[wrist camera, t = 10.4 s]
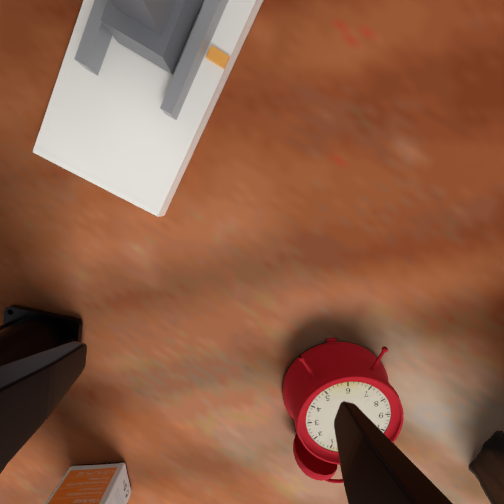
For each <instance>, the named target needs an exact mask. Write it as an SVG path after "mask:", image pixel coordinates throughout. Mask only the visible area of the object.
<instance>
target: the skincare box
mask: <svg viewBox="0 0 504 504" xmlns="http://www.w3.org/2000/svg"><path fill="white" fill-rule="evenodd" d="M130 494H131V487H130V483H129V479H128V475H127V470H126V465H125V463H117V464H102V465H83V466H71V467H70V468H69V469H68V471H67V472H66V474H65V475H64V477H63V478H62V480H61V481H60V483H59V484H58V485H57V487H56V488H55V490H54V491H53V493H52V494H51V495H50V497H49V498H48V500H47V501H46V503H45V504H127V502H128V499H129V497H130Z"/></svg>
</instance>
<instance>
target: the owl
mask: <svg viewBox="0 0 504 504" xmlns="http://www.w3.org/2000/svg"><path fill="white" fill-rule="evenodd" d="M468 468H469V470H470V471H471V472H472V473H473V474H474V475H475V476H476V478H477V479H478V481H479V482H480V485H481V487H482V488H483V490H484V492H485V494H486V496H487V497H488V499H489V500H490V502H491V504H504V433H503V432H502V431H496V432H495V433H494V434H493V436H492V437H491V438H490V439H489V440H488V441H487V442H485V443H484V445H483V448H482V450H481V452H480V454H479V455H478V456H477V458H476V459H475V460H474V461H473V462H472V463H471V464H470V465H469V467H468Z"/></svg>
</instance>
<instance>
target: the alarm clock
mask: <svg viewBox="0 0 504 504" xmlns="http://www.w3.org/2000/svg"><path fill="white" fill-rule="evenodd" d="M326 340H327V343H325V344H321V345H318V346H315V347H313V348H311V349H309V350H308V351H306V352H304V353H303V354H302V355H300V356H299V357H298V358H297V359H296V360H295V361H294V362H293V363H292V365H291V366H290V368H289V369H288V371H287V373H286V375H285V378H284V382H283V399H284V404H285V407H286V409H287V411H288V413H289V415H290V416H291V417H292V418H293V420H294V422H295V428H296V432H297V434H296V436H295V439H294V443H293V452H294V456H295V459H296V462H297V464H298V466H299V467H300V469H301V470H302V471H303V472H304V473H305V474H306V475H307V476H309V477H311V478H313V479H315V480H325V481H328V482H332V483H344V482H343V479H330V478H331V477H332V476H333V475H334V474H335V472H336V470H337V464H339V465H340V460H339V454H338V448H337V442H336V436H335V430H334V420H335V417H336V414H337V411H338V409H339V406H340V404H341V402H343V401H345V402H350V403H353V404H355V405H356V406H357V407H358V408H359V409H360V410H361V411H362V412H363V413H364V414H365V415H366V416H367V417H368V418H369V419H370V420H371V421H372V422H373V423H374V424H375V425H376V426H377V427H378V428H379V429H380V430H381V431H382V432H383V433H384V434H385V435H386V436H387V437H388V438H389V439H390V440H391V441H392V442H393V443H394V441H395V440H396V438H397V436H398V435H399V433H400V431H401V428H402V424H403V408H402V405H401V402H400V399H399V396H398V394H397V392H396V391H395V390H394V388H393V387H392V386H391V385H390V384H389V382H388V376H387V373H386V370H385V368H384V366H383V365H382V363H381V362H380V360H381V358H382V356H383V354H384V353H385V352H387V351H388V349H387V348H386V347H382V352H381V353H380V355H379V356H378V358H377V357H376V356H375V355H374V354H373V353H372V352H370V351H369V350H367V349H366V348H364V347H362V346H359V345H357V344H353V343H348V342H337V340H336V338H327V339H326Z"/></svg>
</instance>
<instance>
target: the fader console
mask: <svg viewBox="0 0 504 504" xmlns="http://www.w3.org/2000/svg"><path fill="white" fill-rule="evenodd" d="M262 2H263V0H204V1H203V3H202V6H201V8H200V11H199V13H198V15H197V18H196V20H195V23H194V25H193V27H192V30H191V32H190V34H189V37H188V39H187V42H186V44H185V46H184V49H183V51H182V54H181V56H180V58H179V61H178V63H177V66H176V68H175V70H174V73H173V75H172V74H171V73H169V72H167V71H165V70H164V69H162V68H160V67H159V66H157V65H155V64H154V63H152V62H150V61H149V60H147V59H145V58H143V57H142V56H140V55H138V54H137V53H135V52H133V51H132V50H130V49H128V48H126V47H125V46H123V45H121V44H120V43H118V41H117V40H116V39H115V38H114V36H113V35H112V34H111V33H110V31H109V30H108V29H107V28H106V26H105V25H104V24H103V23H102V21H101V17H102V14H103V12H104V9H105V6H106V3H107V0H84V1H83V4H82V7H81V10H80V12H79V15H78V18H77V21H76V24H75V27H74V30H73V33H72V36H71V39H70V42H69V45H68V48H67V51H66V54H65V57H64V60H63V63H62V66H61V69H60V72H59V75H58V78H57V81H56V84H55V87H54V90H53V93H52V96H51V99H50V102H49V105H48V108H47V111H46V114H45V117H44V120H43V123H42V126H41V128H40V131H39V134H38V137H37V140H36V143H35V146H34V149H33V153H35V154H37V155H39V156H41V157H43V158H45V159H47V160H49V161H51V162H53V163H55V164H57V165H58V166H60V167H62V168H64V169H66V170H68V171H70V172H72V173H74V174H76V175H78V176H80V177H82V178H84V179H86V180H88V181H90V182H91V183H93V184H95V185H97V186H99V187H101V188H103V189H105V190H107V191H109V192H111V193H113V194H115V195H117V196H119V197H121V198H123V199H124V200H126V201H128V202H130V203H132V204H134V205H136V206H138V207H140V208H142V209H144V210H146V211H148V212H150V213H152V214H154V215H156V216H164V215H165V213H166V211H167V209H168V207H169V205H170V202H171V200H172V198H173V196H174V194H175V192H176V189H177V187H178V185H179V183H180V181H181V178H182V176H183V174H184V172H185V170H186V168H187V165H188V163H189V161H190V159H191V157H192V155H193V152H194V150H195V148H196V146H197V144H198V141H199V139H200V137H201V135H202V133H203V131H204V128H205V126H206V124H207V122H208V120H209V118H210V115H211V113H212V111H213V109H214V107H215V104H216V102H217V100H218V98H219V96H220V94H221V91H222V89H223V87H224V85H225V83H226V81H227V78H228V76H229V74H230V72H231V70H232V67H233V65H234V63H235V61H236V59H237V57H238V54H239V52H240V50H241V48H242V46H243V43H244V41H245V39H246V37H247V35H248V33H249V30H250V28H251V26H252V24H253V22H254V20H255V17H256V15H257V13H258V11H259V9H260V6H261V4H262Z"/></svg>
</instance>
